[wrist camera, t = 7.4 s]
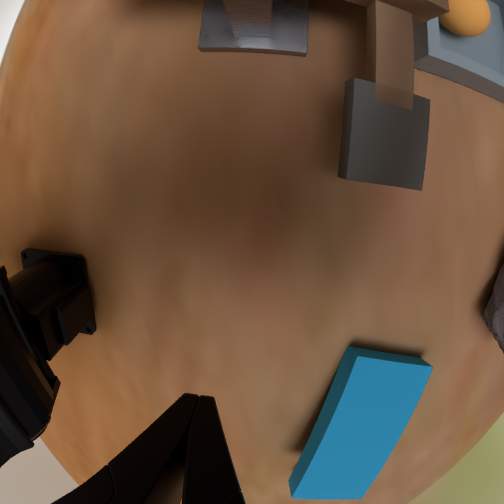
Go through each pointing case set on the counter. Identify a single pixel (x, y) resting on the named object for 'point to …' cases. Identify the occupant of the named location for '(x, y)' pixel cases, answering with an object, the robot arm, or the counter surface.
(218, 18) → the stand
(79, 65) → the counter surface
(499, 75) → the bin
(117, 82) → the counter surface
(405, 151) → the lever
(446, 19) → the ball
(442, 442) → the counter surface
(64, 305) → the robot arm
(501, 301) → the perforated stone tool
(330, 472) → the blue piece
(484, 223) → the counter surface
